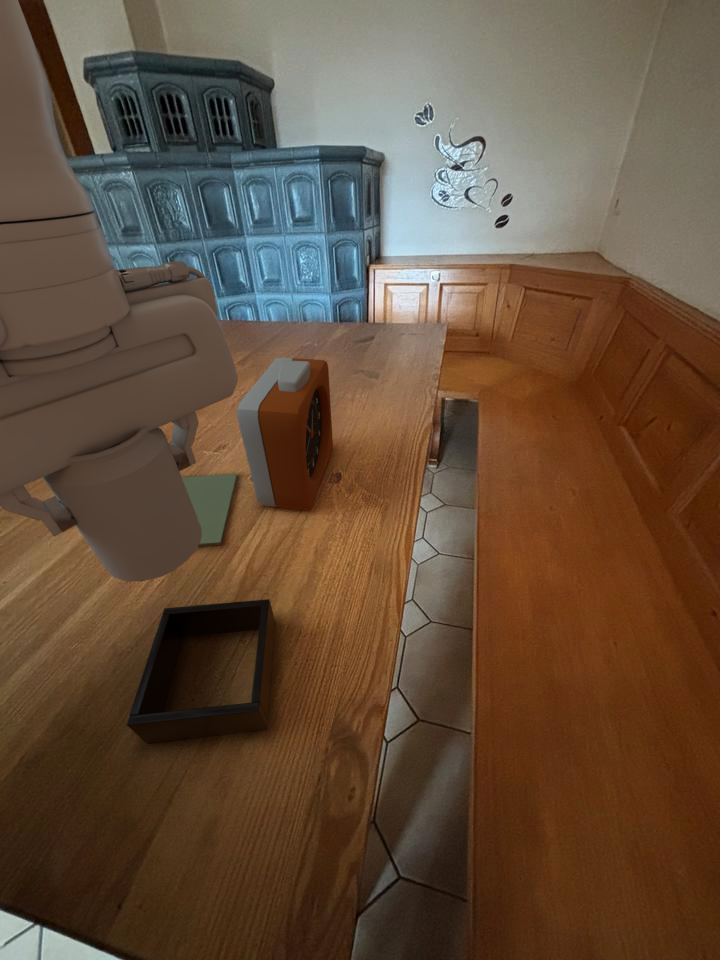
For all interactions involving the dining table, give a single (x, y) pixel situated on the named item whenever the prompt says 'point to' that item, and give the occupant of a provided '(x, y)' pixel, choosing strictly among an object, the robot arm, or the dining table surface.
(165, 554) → the can
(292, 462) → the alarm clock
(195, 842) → the dining table surface
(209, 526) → the mat
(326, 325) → the dining table surface
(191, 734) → the frame
